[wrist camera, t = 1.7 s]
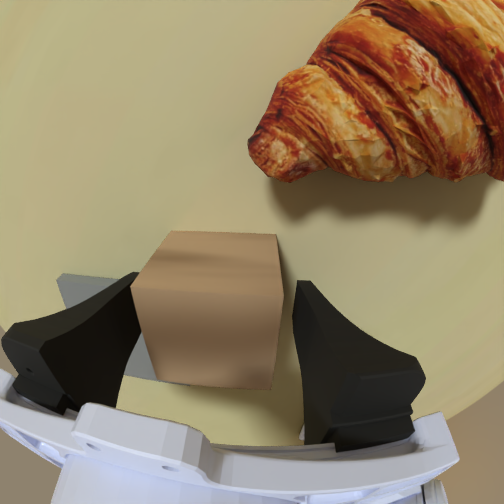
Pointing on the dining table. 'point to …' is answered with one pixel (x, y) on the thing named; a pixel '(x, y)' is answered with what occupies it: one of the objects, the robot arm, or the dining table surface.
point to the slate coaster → (84, 288)
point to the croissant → (393, 96)
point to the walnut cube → (212, 308)
